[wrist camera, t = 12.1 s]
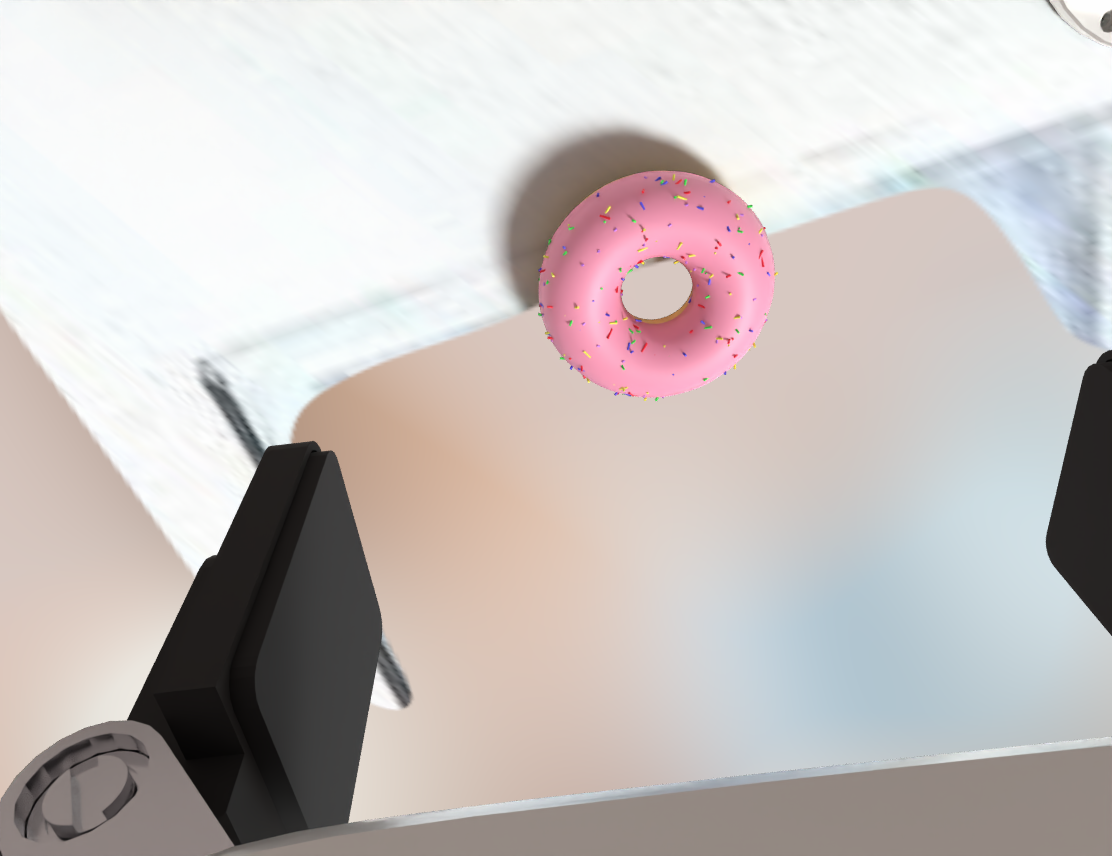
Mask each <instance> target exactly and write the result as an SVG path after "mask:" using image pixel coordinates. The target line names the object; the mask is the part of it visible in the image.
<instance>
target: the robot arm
mask: <svg viewBox="0 0 1112 856" xmlns="http://www.w3.org/2000/svg"><path fill="white" fill-rule="evenodd" d="M1049 1H1050V2H1051V4H1052V5H1053V7H1054V8H1055V10H1056V11H1057V12H1058V14H1059V15H1060V17H1061V18H1062V19H1063V20H1064V21H1065V22H1067V23H1068V24H1069V25H1070V26H1071V27H1072V28H1073V29H1075V30H1076V31H1077V32H1078V33H1079V34H1080V35H1083V36H1085V37H1087V38H1089V39H1091V40H1093V41H1095V42H1097V43H1099V44H1101V45H1103V46H1108V47H1112V0H1049ZM1103 15H1104V18H1103V20H1102V22H1101V19H1102V17H1103ZM1100 22H1101V23H1100ZM1046 548H1047V553H1048V556H1049V558H1050V561H1051V562H1052V564H1053V565H1054V567H1055V568H1056V569H1057V571H1058V572H1059V573H1060V574H1061V575H1062V577H1063V578H1064V579H1065V580H1066V581H1067V583H1068V584H1069V585H1070V586H1071V587H1072V589H1073V590H1074V591H1075V592H1076V593H1077V595H1078V596H1079V597H1080V598H1081V599H1082V601H1083V602H1084V603H1085V604H1086V606H1087V607H1088V608H1089V609H1090V610H1091V612H1092V613H1093V614H1094V615H1095V616H1096V617H1097V619H1098V620H1099V621H1100V622H1101V624H1102V625H1103V626H1104V627H1105V628H1106V630H1107V631H1108V632H1109V633H1110V634H1111V636H1112V350H1108V351H1107V352H1105V353H1103V354H1102V355H1101V356H1100V358H1099V359H1098V361H1097V363H1096V364H1092V365H1091V366H1089V367H1088V368H1087V370H1086V371H1085V373H1084V376H1083V380H1082V384H1081V388H1080V393H1079V397H1078V401H1077V405H1076V410H1075V415H1074V418H1073V423H1072V427H1071V431H1070V436H1069V440H1068V444H1067V449H1066V453H1065V457H1064V462H1063V466H1062V470H1061V474H1060V479H1059V483H1058V487H1057V492H1056V496H1055V500H1054V505H1053V509H1052V513H1051V517H1050V522H1049V526H1048V530H1047V535H1046ZM381 639H382V619H381V613H380V609H379V605H378V601H377V598H376V594H375V590H374V587H373V584H372V580H371V576H370V573H369V570H368V566H367V562H366V559H365V555H364V552H363V548H362V545H361V541H360V537H359V534H358V530H357V527H356V523H355V520H354V516H353V513H352V509H351V505H350V502H349V498H348V495H347V491H346V488H345V484H344V481H343V477H342V474H341V470H340V466H339V463H338V460H337V457H336V455H335V453H334V452H333V451H323V452H321V449H320V447H319V446H318V444H317V443H316V442H314V441H310V442H302V443H293V444H284V445H275V446H269V447H268V448H267V449H266V451H265V452H264V455H263V457H262V459H261V461H260V463H259V465H258V468H257V470H256V472H255V474H254V476H253V478H252V481H251V483H250V485H249V487H248V489H247V491H246V494H245V496H244V498H243V500H242V502H241V504H240V507H239V509H238V511H237V513H236V515H235V517H234V519H233V522H232V524H231V526H230V528H229V530H228V532H227V535H226V537H225V539H224V541H223V543H222V545H221V548H220V550H219V552H218V554H217V555H214V556H211V557H209V558H207V559H206V560H205V561H204V563H203V564H202V566H201V567H200V569H199V571H198V573H197V575H196V577H195V579H194V581H193V584H192V586H191V588H190V590H189V592H188V594H187V596H186V598H185V600H184V603H183V605H182V607H181V609H180V611H179V613H178V615H177V617H176V619H175V621H174V623H173V625H172V628H171V630H170V632H169V634H168V636H167V638H166V640H165V642H164V644H163V646H162V648H161V650H160V652H159V654H158V657H157V659H156V661H155V663H154V665H153V667H152V669H151V671H150V673H149V675H148V677H147V679H146V682H145V684H144V686H143V688H142V690H141V692H140V694H139V696H138V698H137V701H136V702H135V705H134V707H133V709H132V711H131V713H130V715H129V717H128V719H127V721H109V722H105V723H101V724H98V725H94V726H90V727H87V728H84V729H82V730H79V731H77V732H75V733H73V734H72V735H69V736H67V737H65V738H63V739H61V740H59V741H57V742H56V743H55V744H53V745H52V746H51V747H49V748H48V749H46V750H45V751H43V752H42V753H40V754H39V755H38V756H36V757H35V758H34V759H33V760H32V761H31V762H30V763H29V764H28V765H27V766H26V767H25V768H24V769H23V770H22V771H21V772H20V773H19V774H18V775H17V776H16V777H15V779H14V780H13V782H12V783H11V785H10V786H9V788H8V789H7V791H6V792H5V794H4V795H3V797H2V798H1V801H0V856H1112V737H1103V738H1093V739H1083V740H1073V741H1063V742H1054V743H1043V744H1034V745H1024V746H1015V747H1005V748H996V749H987V750H977V751H967V752H958V753H948V754H939V755H929V756H920V757H911V758H901V759H892V760H883V761H873V762H864V763H854V764H845V765H836V766H826V767H817V768H808V769H798V770H790V771H779V772H770V773H761V774H752V775H743V776H734V777H725V778H716V779H707V780H698V781H689V782H680V783H671V784H662V785H653V786H644V787H635V788H627V789H618V790H609V791H600V792H591V793H582V794H573V795H565V796H555V797H546V798H538V799H528V800H520V801H512V802H504V803H496V804H488V805H480V806H472V807H464V808H456V809H448V810H440V811H432V812H424V813H416V814H409V815H402V816H394V817H386V818H379V819H371V820H365V821H359V822H353V823H348V821H349V816H350V810H351V805H352V799H353V794H354V788H355V782H356V777H357V772H358V766H359V760H360V755H361V750H362V743H363V739H364V733H365V727H366V722H367V717H368V711H369V706H370V700H371V695H372V689H373V684H374V678H375V673H376V667H377V662H378V656H379V651H380V645H381Z"/></svg>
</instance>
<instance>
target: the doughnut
mask: <svg viewBox="0 0 1112 856" xmlns="http://www.w3.org/2000/svg"><path fill="white" fill-rule="evenodd" d="M750 207H752V205H747V204H746V203H745V202H744V201H743V200H742V199H741V198H740V197H739V196H738V195H736V194H735V193H734V192H732V191H731V190H729V189H727V188H726V187H724V186H722V185H721V184H719V183H717V182H715V179H713V180H710V179H708V178H705V177H702V176H699V175H696V174H692V173H687V172H678V171H647V172H641V173H636V174H632V175H629V176H625V177H622V178H620V179H617V180H615V181H612V182H610V183H608V184H606V185H604V186H603V187H601V188H599V189H598V190H596V191H595V192H593V193H592V194H590V195H589V196H588V197H586V198H585V199H584V200H583V201H582V202H581V203H580V204H579V205H577V206H576V207H575V208H574V209H573V210H572V211H571V212H570V213H569V215H568V216H567V217H566V218H565V219H564V221H563V222H562V223H561V225H560V226H559V228H558V229H557V230H556V232H555V233H554V235H553V237H552V239H549V243H548V248H547V251H546V254H545V255H543V257H544V260H543V264H542V267H541V268H540V269H539V270H538V271H539V272H540V278H539V303H540V304H539V307H540V310H541V314H540V313H539V314H538V315H540V316H542V318H543V321H544V325H545V327H546V330H547V332H545V334H547V335H549V337H548V339H551V342H552V343H553V344H554V346H555V347H556V349H557V350H558V352H559V353H560V354H561V355H562V356H563V357H561V358H560V359H565V360H566V361H567V362H568V363H569V364H570V365H571V367H570V369H571V370H572V368H573V367H574V368H575V369H576V370H577V371H579V372H580V373H581V374H582V375H583V377H584V378H587V381H588V382H590V381H592V382H594V383H595V384H597V385H599V386H601V387H604V388H606V389H609V390H611V391H614V392H616V393H615V394H614V395H617V394H619V393H622V394H624V395H628V396H638V397H644V401H646V399H647V397H650V398H651V397H656V399H655V401H657V400H658V398H659V397H662V398H664V397H666V396H672V395H676V394H680V393H684V392H687V391H691V390H694V389H696V388H699V387H701V386H704V385H706V384H708V383H709V382H711V381H713V380H714V379H716V378H717V377H719V376H720V375H722V374H723V373H724V374H725V375H726V371H727V370H729V369H730V368H731V367H733V366H734V369H736V363H737V362H738V361H739V360H740V359H741V358H742V357H743V356H744V355H745V354H746V352H747V351H748V350H750V347H751V346H752V345H753V346H754V348H755V347H756V345H755V343H754V342H755V340H756V338H757V337H758V335H759V333H760V331H761V329H762V327H763V325H764V323H765V322H766V321H767V319H766V317H767V314H768V311H769V308H770V305H771V302H772V298H773V292H774V280H775V275H777V274H778V272H776V273H775V269H774V259H773V254H772V251H771V247H770V244H769V241H768V238H767V235H766V232H765V230H764V229H765V227H763V226H762V224H761V222H760V221H759V219H758V218H757V216H756V215H755V213H754V212H753V211H752V210H751V208H750ZM653 257H663V258H673V259H675V260H677V261H675V262H674V264H676V263H678V262H680V263H682V264H683V265H684V266H685V267H686V269H687V270H688V272H689V273H690V276H691V278H692V283H693V286H692V291H691V294H690V296H689V298H688V300H687V301H686V303H685V304H684V305H683V306H682V307H681V308H680V309H679V310H677V311H676V312H674V313H673V314H671V315H669V316H667V317H664V318H661V319H654V320H647V319H641V318H638V317H635V316H633V315H632V314H630V313H629V312H627V310H626V309H625V307H624V305H623V303H622V298H621V296H622V295H623V294H622V292H623V290H621V286H622V283H623V281H624V280H625V279H624V278H625V276H626V274H628V273H629V272H631V271H632V268H633V267H634V266H635V267H636V268H638V267H639V266H637V264H639V263H642V264H643V265H644V264H645V263H644V262H643V261H644V260H646V259H649V258H653ZM589 380H590V381H589Z"/></svg>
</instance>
